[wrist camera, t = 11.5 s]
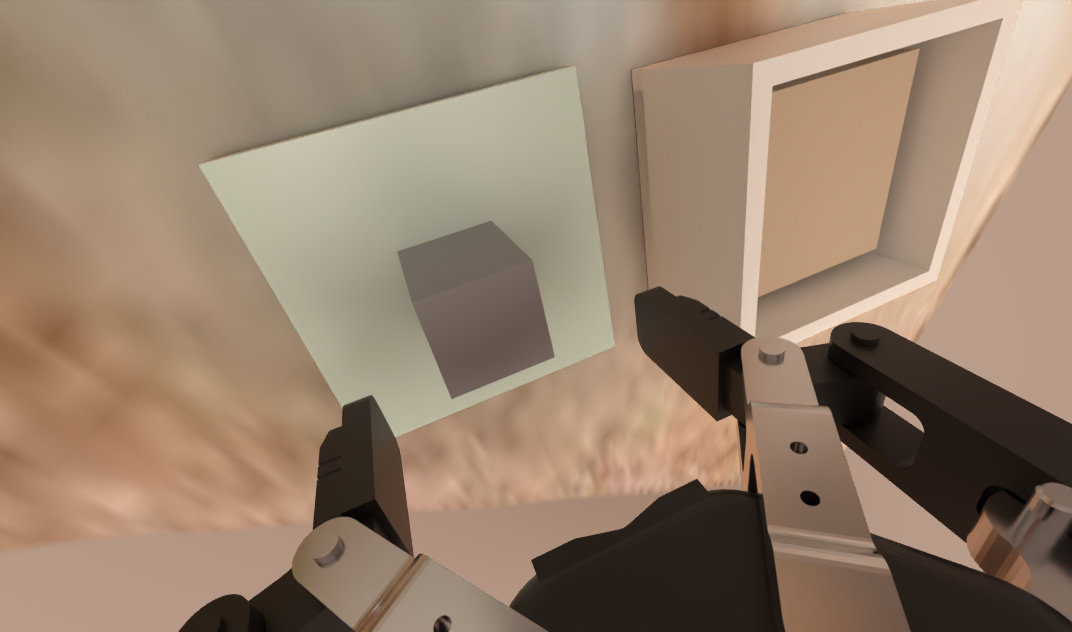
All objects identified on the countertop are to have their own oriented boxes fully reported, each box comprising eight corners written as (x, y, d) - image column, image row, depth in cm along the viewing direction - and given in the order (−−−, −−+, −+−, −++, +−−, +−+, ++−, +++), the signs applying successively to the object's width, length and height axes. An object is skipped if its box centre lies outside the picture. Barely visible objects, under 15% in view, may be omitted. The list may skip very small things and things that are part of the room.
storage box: (631, 69, 19) (753, 63, 13) (845, 13, 22) (1026, -14, 16) (649, 303, 25) (738, 369, 20) (814, 239, 28) (936, 279, 22)
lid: (212, 157, 16) (136, 197, 10) (557, 67, 18) (648, 59, 13) (365, 425, 23) (370, 538, 17) (599, 331, 25) (670, 401, 20)
